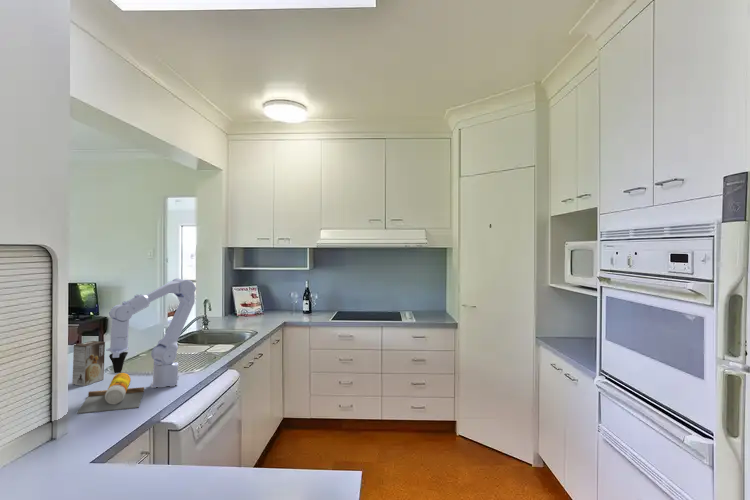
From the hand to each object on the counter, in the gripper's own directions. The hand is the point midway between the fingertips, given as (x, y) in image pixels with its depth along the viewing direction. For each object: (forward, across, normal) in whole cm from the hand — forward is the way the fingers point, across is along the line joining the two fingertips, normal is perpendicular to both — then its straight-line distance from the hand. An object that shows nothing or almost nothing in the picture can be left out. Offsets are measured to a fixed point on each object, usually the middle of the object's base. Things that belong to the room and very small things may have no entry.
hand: (117, 372), depth 157 cm
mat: (+8, +9, 0) cm, 12 cm away
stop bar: (+8, 0, 0) cm, 8 cm away
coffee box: (+9, -20, -13) cm, 26 cm away
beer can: (+3, -3, +1) cm, 5 cm away
